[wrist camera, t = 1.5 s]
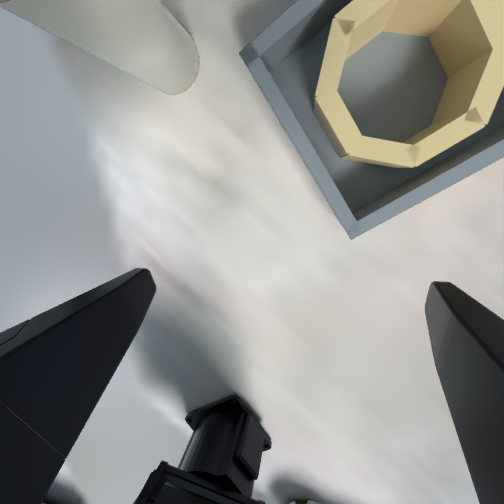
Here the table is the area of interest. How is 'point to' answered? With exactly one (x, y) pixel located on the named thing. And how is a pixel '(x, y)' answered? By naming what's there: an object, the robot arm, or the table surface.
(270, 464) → the table surface
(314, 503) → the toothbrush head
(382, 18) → the walled box
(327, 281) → the table surface
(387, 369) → the table surface
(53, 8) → the cream and grey cylinder
